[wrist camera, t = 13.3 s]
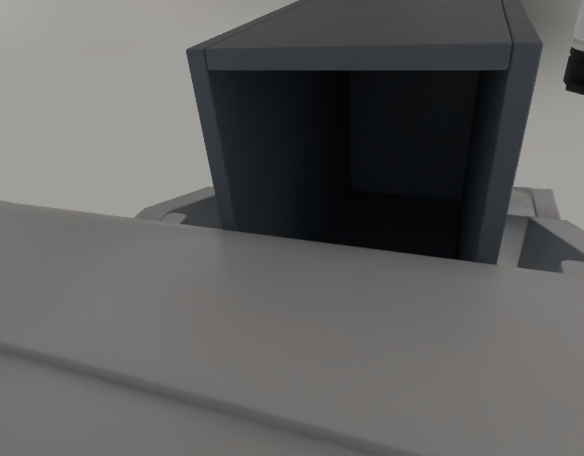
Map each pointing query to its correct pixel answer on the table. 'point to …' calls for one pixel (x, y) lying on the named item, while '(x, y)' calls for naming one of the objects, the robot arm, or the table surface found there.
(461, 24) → the grey basket
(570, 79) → the travel mug
